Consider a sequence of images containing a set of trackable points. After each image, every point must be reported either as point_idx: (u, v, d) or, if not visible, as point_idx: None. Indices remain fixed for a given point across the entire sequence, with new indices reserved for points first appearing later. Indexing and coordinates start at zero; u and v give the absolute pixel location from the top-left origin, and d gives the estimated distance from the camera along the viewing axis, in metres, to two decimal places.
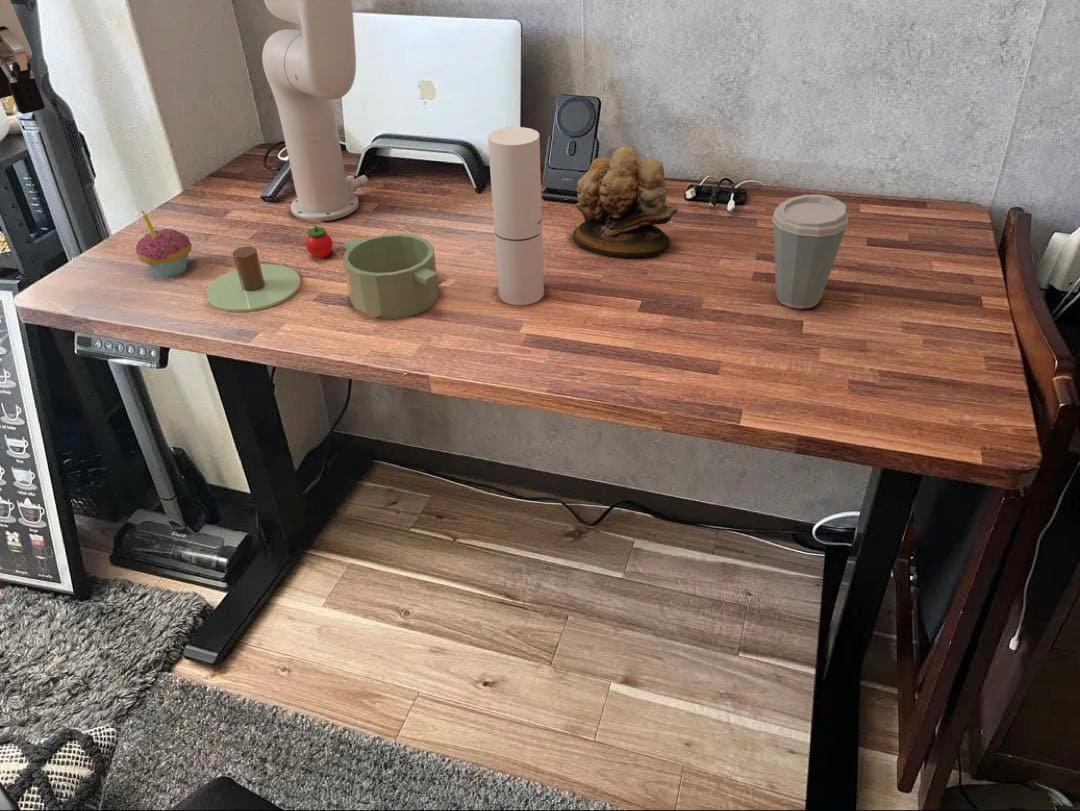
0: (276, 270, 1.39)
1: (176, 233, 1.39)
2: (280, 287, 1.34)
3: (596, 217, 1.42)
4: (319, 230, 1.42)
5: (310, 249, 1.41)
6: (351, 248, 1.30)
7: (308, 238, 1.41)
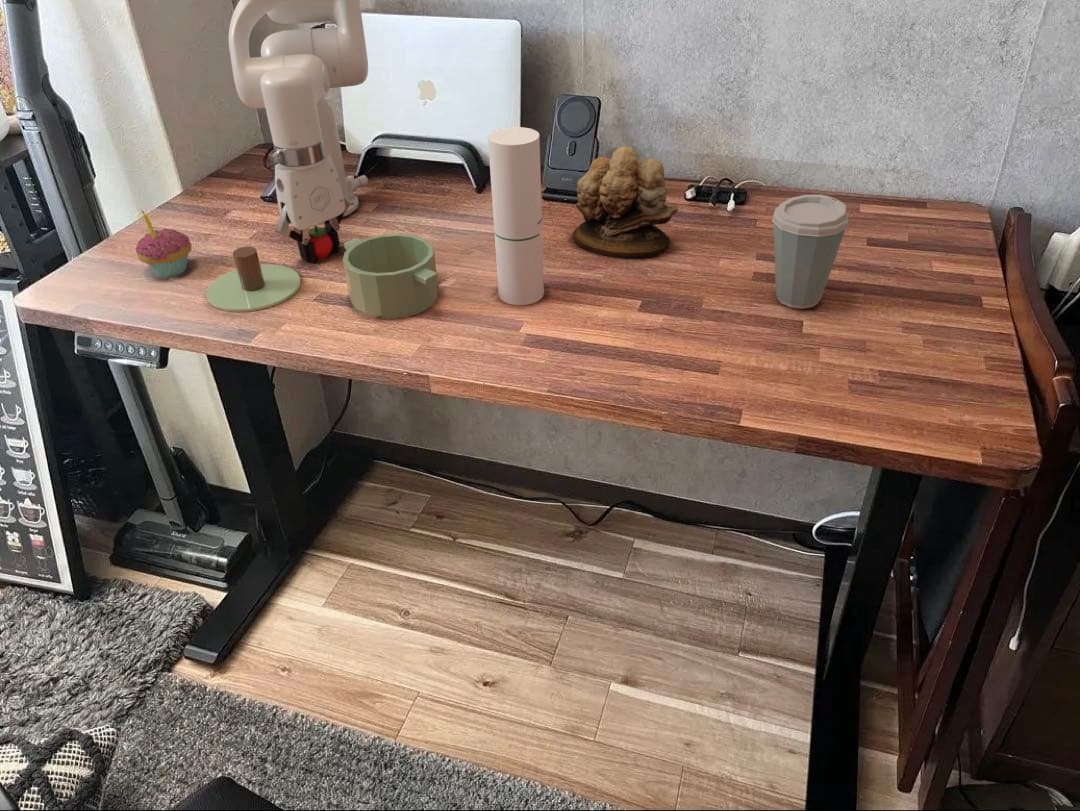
0: (276, 270, 1.39)
1: (176, 233, 1.39)
2: (280, 287, 1.34)
3: (596, 217, 1.42)
4: (319, 230, 1.42)
5: None
6: (351, 248, 1.30)
7: None
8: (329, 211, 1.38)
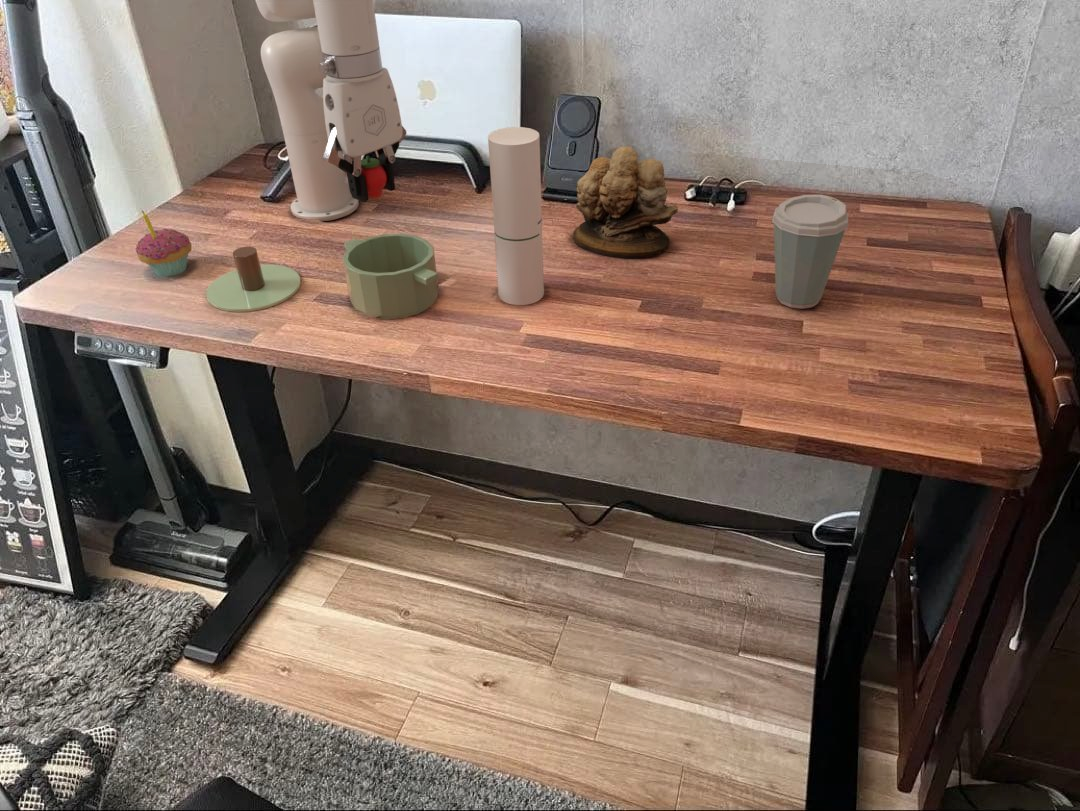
0: (276, 270, 1.39)
1: (176, 233, 1.39)
2: (280, 287, 1.34)
3: (596, 217, 1.42)
4: (372, 161, 1.21)
5: None
6: (351, 248, 1.30)
7: None
8: (385, 137, 1.18)
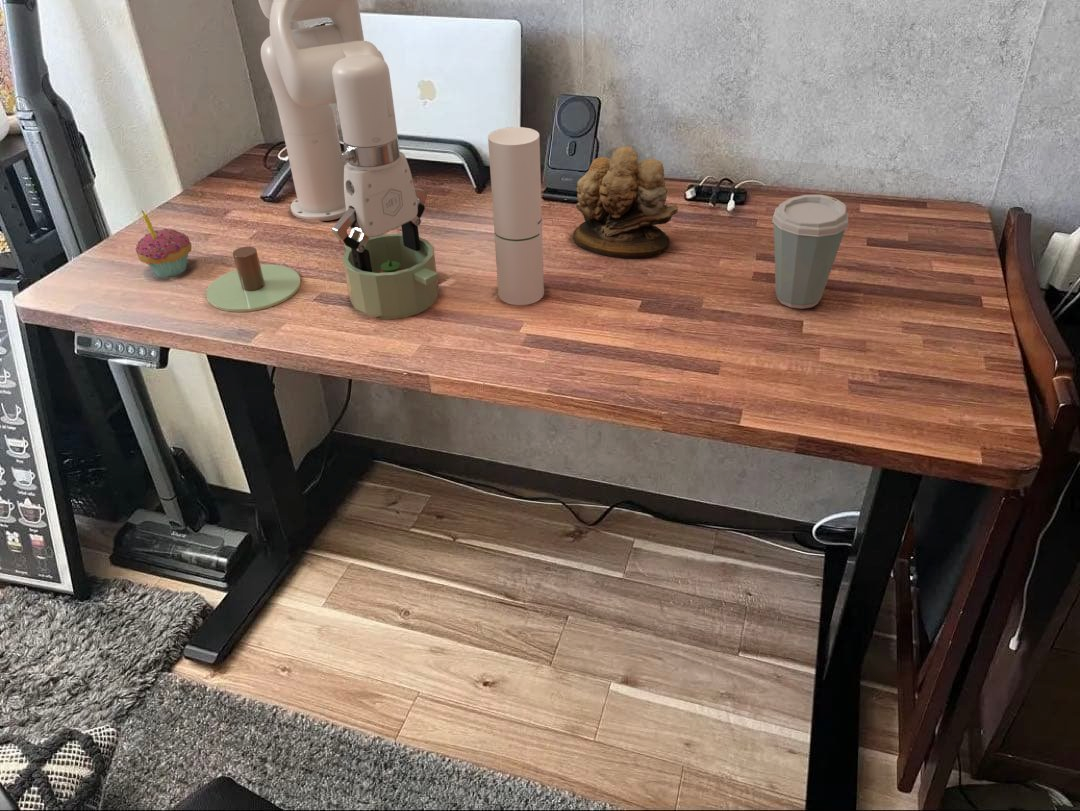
0: (276, 270, 1.39)
1: (176, 233, 1.39)
2: (280, 287, 1.34)
3: (596, 217, 1.42)
4: (393, 264, 1.30)
5: None
6: None
7: None
8: (401, 216, 1.24)
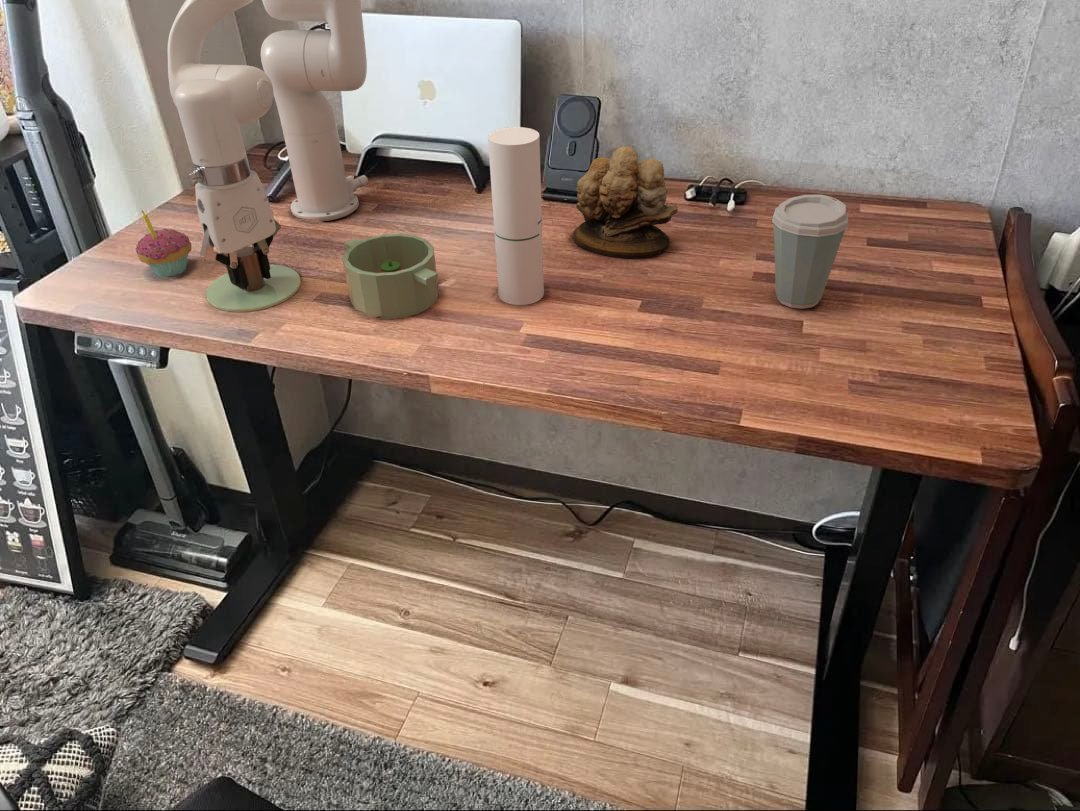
0: (276, 270, 1.39)
1: (176, 233, 1.39)
2: (280, 287, 1.34)
3: (596, 217, 1.42)
4: (393, 264, 1.30)
5: None
6: (351, 248, 1.30)
7: None
8: (257, 233, 1.29)
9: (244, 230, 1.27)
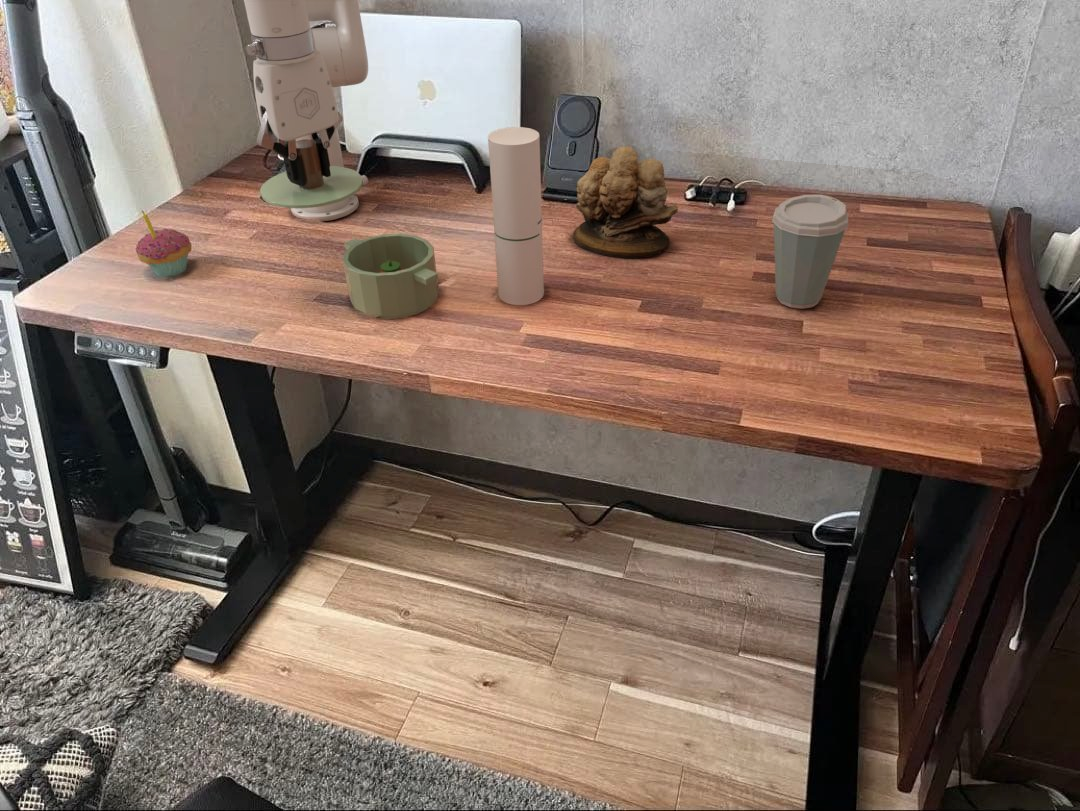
0: (335, 170, 1.27)
1: (176, 233, 1.39)
2: (341, 185, 1.22)
3: (596, 217, 1.42)
4: (393, 264, 1.30)
5: None
6: (351, 248, 1.30)
7: None
8: (319, 121, 1.17)
9: (305, 115, 1.15)
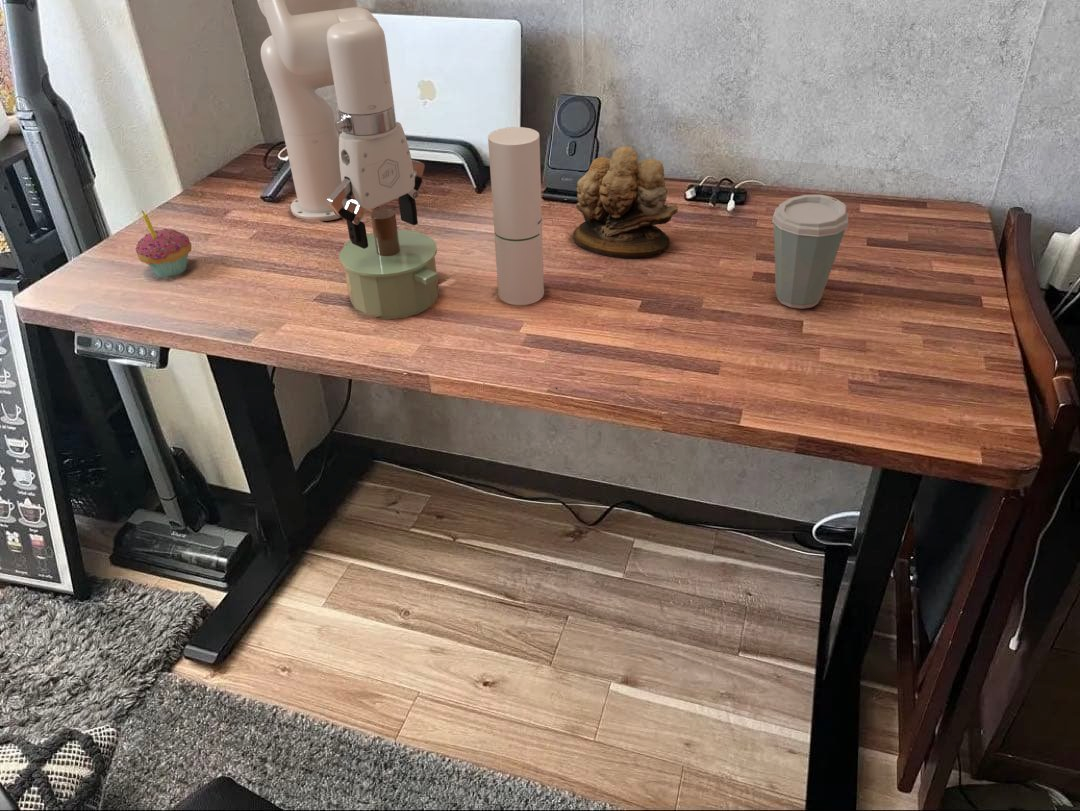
0: (408, 235, 1.32)
1: (176, 233, 1.39)
2: (417, 251, 1.27)
3: (596, 217, 1.42)
4: None
5: None
6: None
7: None
8: (398, 188, 1.21)
9: (386, 184, 1.20)
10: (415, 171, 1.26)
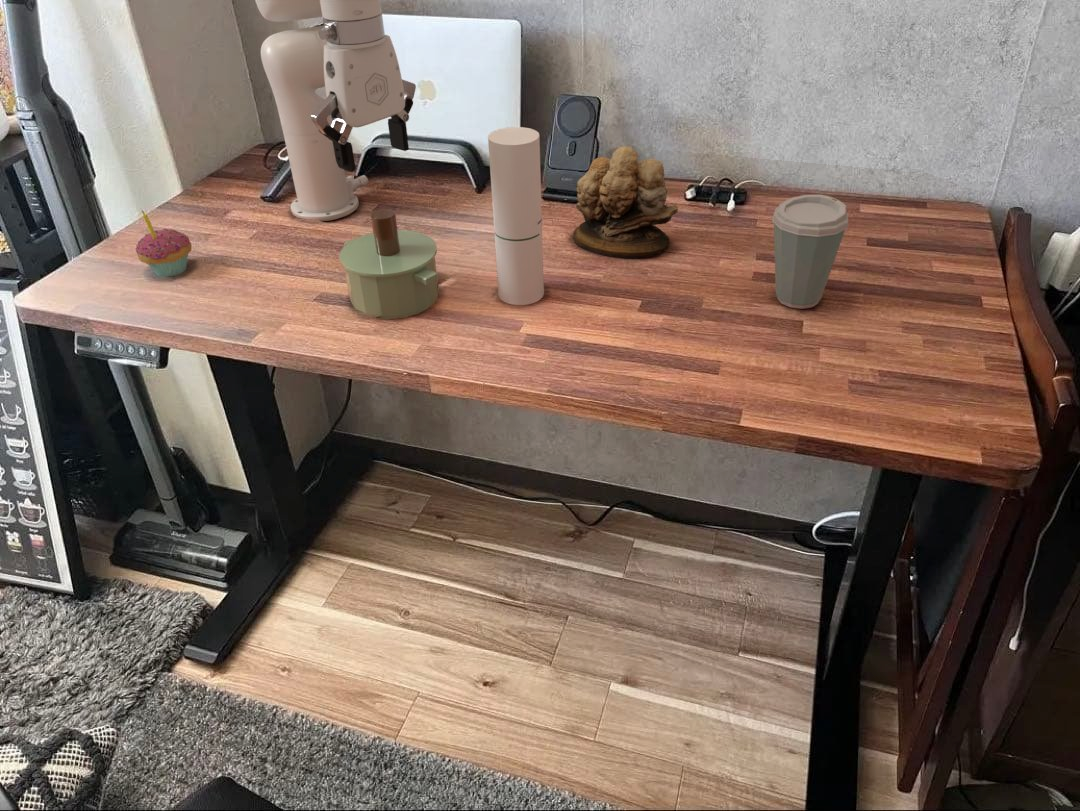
0: (408, 235, 1.32)
1: (176, 233, 1.39)
2: (417, 251, 1.27)
3: (596, 217, 1.42)
4: None
5: None
6: None
7: None
8: (387, 107, 1.14)
9: (375, 102, 1.12)
10: (406, 92, 1.19)
